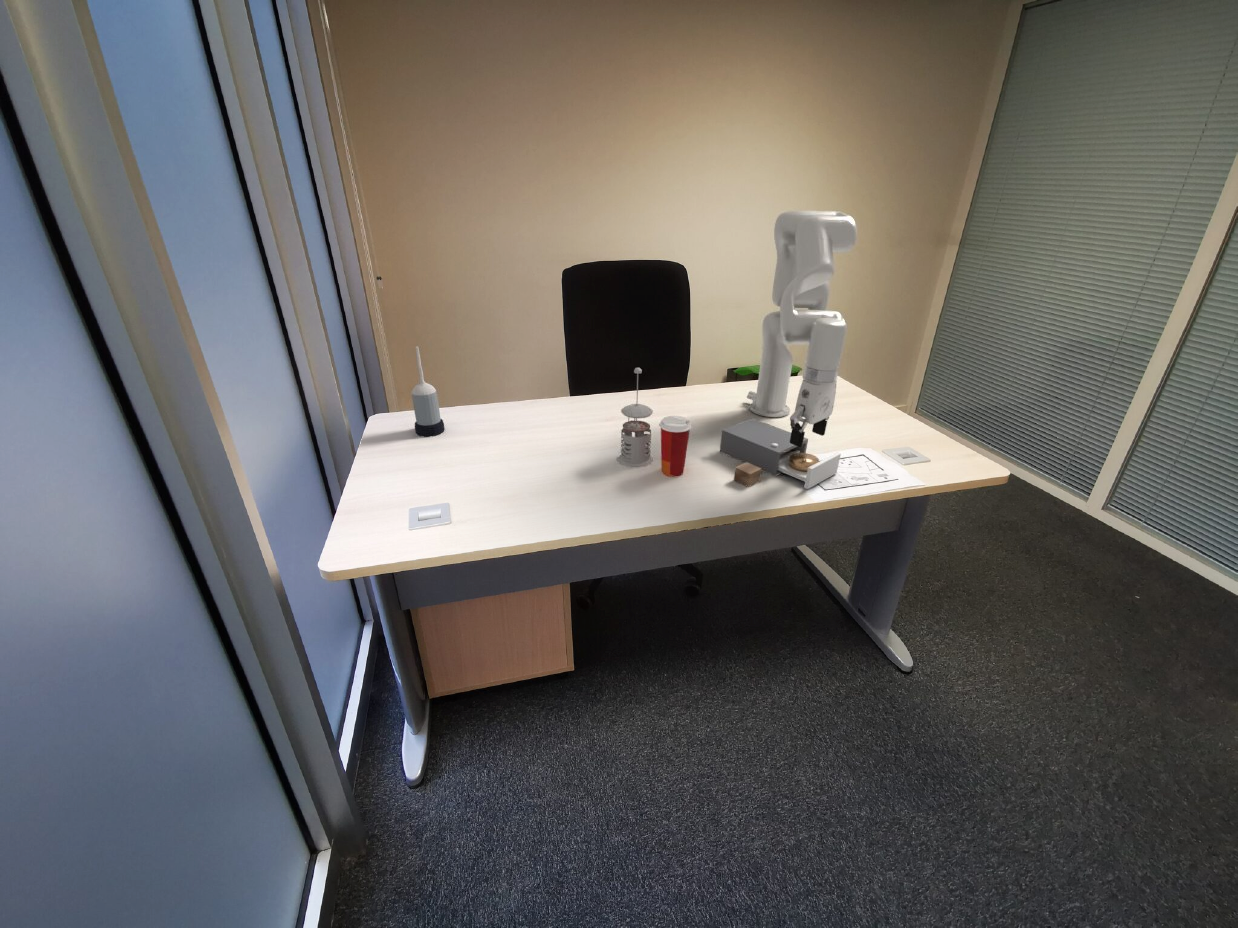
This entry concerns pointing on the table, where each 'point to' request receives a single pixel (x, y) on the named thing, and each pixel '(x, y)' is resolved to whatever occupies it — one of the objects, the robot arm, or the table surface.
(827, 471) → the tray
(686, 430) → the paper cup
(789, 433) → the player
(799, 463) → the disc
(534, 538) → the table surface
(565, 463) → the table surface
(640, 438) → the french press
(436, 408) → the grey bottle with nozzle
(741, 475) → the brown wooden cube
